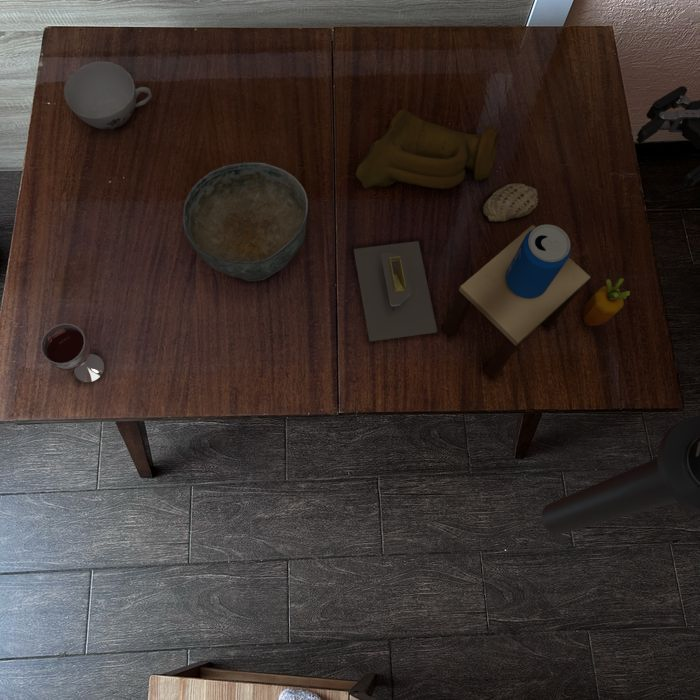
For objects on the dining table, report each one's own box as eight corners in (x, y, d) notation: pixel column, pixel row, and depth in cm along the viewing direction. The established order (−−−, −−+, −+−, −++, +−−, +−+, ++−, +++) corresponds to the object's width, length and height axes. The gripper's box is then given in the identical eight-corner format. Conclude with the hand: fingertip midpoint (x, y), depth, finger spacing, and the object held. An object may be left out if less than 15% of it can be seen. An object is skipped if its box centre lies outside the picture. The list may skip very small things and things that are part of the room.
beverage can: (506, 258, 105) (527, 217, 94) (549, 265, 105) (575, 225, 94) (502, 296, 103) (523, 260, 92) (545, 304, 103) (571, 268, 92)
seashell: (508, 240, 130) (546, 199, 128) (506, 235, 124) (546, 191, 123) (477, 214, 132) (514, 173, 130) (474, 207, 126) (512, 164, 124)
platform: (418, 241, 126) (422, 222, 120) (437, 332, 120) (443, 317, 114) (353, 249, 125) (354, 231, 119) (369, 341, 120) (371, 327, 113)
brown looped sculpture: (388, 81, 129) (505, 101, 124) (387, 141, 139) (495, 162, 134) (354, 135, 118) (481, 159, 113) (355, 196, 128) (472, 221, 123)
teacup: (79, 148, 131) (64, 120, 124) (77, 94, 135) (62, 64, 128) (160, 138, 132) (149, 110, 125) (155, 85, 136) (145, 55, 129)
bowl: (323, 223, 127) (322, 176, 113) (288, 316, 121) (282, 278, 107) (222, 193, 129) (209, 143, 114) (182, 283, 122) (163, 242, 108)
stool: (554, 321, 122) (590, 277, 105) (491, 379, 118) (518, 342, 101) (505, 274, 125) (532, 224, 108) (442, 329, 121) (460, 286, 104)
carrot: (567, 315, 122) (598, 278, 108) (592, 306, 123) (627, 268, 109) (580, 340, 121) (613, 306, 106) (605, 331, 121) (642, 296, 107)
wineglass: (110, 348, 118) (87, 322, 107) (108, 386, 116) (83, 364, 104) (70, 349, 118) (42, 323, 106) (66, 388, 115) (38, 365, 104)
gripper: (718, 51, 97) (636, 106, 94) (796, 119, 94) (714, 180, 90) (692, 88, 104) (615, 141, 101) (763, 153, 101) (686, 210, 97)
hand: (662, 159), depth 95 cm, fingers open, 8 cm apart
